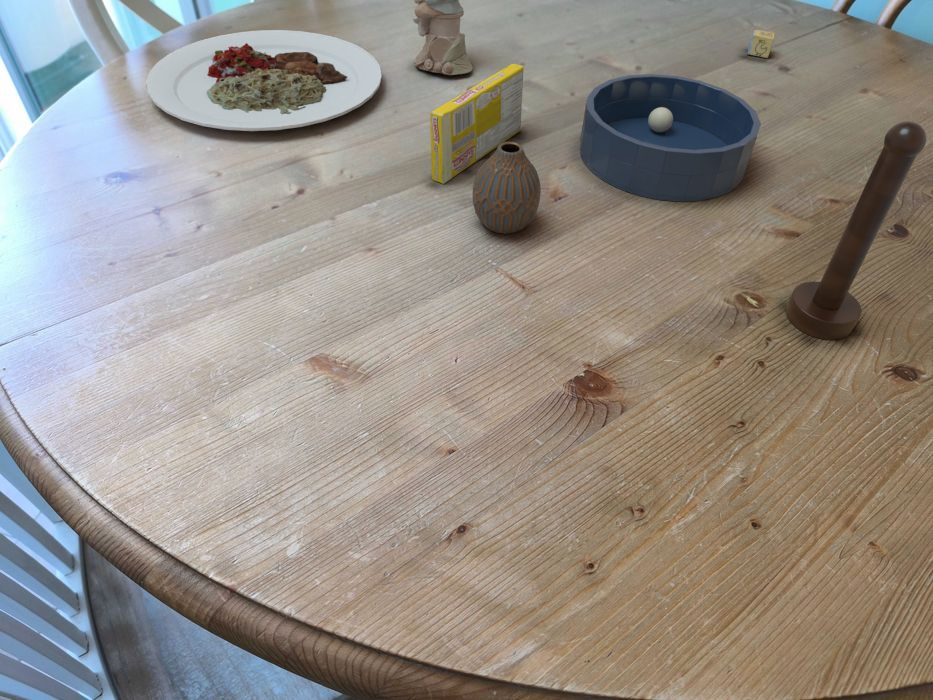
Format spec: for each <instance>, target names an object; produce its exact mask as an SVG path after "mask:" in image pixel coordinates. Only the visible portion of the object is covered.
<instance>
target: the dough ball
mask: <svg viewBox="0 0 933 700" xmlns="http://www.w3.org/2000/svg"><path fill="white" fill-rule="evenodd" d="M672 123H673V115H672V113H671V111H670V110H669V109H667V108H664V107H659V108H656V109H654V110H653V111H652V112H651V113H650V115H649V118H648V124H649V126H650V128H651V129H652V130H653V131H655V132H659V133H661V132H665V131H667V130H668V129H669V128H670V127H671V125H672Z"/></svg>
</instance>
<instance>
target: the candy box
mask: <svg viewBox="0 0 933 700" xmlns="http://www.w3.org/2000/svg"><path fill="white" fill-rule="evenodd" d="M524 69H525V67H524V66H523V65H521V64H520V65H519V64H517V63H511V64H510V65H508V66H506V67H504V68H502V69H501V70H498V71H497V72H495V73H494V74H493V75H491V76H489V77H487V78H485V79H484V80H483V81H481V82H479V83H477V84H476V85H474V86H473V87H471V88H468V89H467V90H465V91H463V92H462V93H461V94H459V95H457V96H455V97H454V98H452V99H450V100H449V101H447V102H445V103H443V104H442V105H440V106H439V107H437V108H435V109H434V110H433V109H432V111H430V113H429V115H430V116H429V117H430V118H429V119H430V127H429V129H430V159H431V160H430V162H431V163H430V165H431V180H432V181H435V182H438V183H440V184H442V185H444V184H445V183H448V182H449V181H450V180H451V179H453V178H454V177H456V176H457V175H458V174H460V173H462V172H463V171H464V170H466V169H467V168H469V167H470V166H471V165H473V164H474V163H476V162H478V161H479V160H480V159H482V158H483V157H485V156H486V155H488V154H489V153H490V152H492V151H493V150H495V149H497V148H498V146H499V145H500V144H501V143H504V142H507V141H508V140H509V139H510V138H512V137H513V136H515V135H517V134H518V133H520V132H521V128H522V127H521V123H522V122H521V121H522V108H523V107H522V106H523V88H524Z"/></svg>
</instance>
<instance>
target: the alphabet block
mask: <svg viewBox="0 0 933 700" xmlns="http://www.w3.org/2000/svg"><path fill="white" fill-rule="evenodd" d="M775 35H776V32H770V31H766V30H759V29H753V31H752V35H751V39H750V42H749V45H748V48H747V52H746V53H747V55H748V56H749V55H750V56H755V57H758V58H759V57H760V58H765V59H768V58H769V57H770V53H771V49H772V47H773V44H774V41H775Z"/></svg>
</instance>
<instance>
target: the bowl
mask: <svg viewBox="0 0 933 700" xmlns="http://www.w3.org/2000/svg"><path fill="white" fill-rule="evenodd" d="M659 107H664V108H667V109H669V110H670V111H671V113H672V115H673V123H672V125H671V127H670V128H669V129H668V130H667V131H665V132H661V133H659V132H655V131H653V130H652V129H651V128H650V126H649V124H648V118H649V115H650V113H651V112H652V111H653V110H654V109H656V108H659ZM761 125H762V123H761V121H760V118H759V116H758V113H757V111H756V110H755V109H754V108H753V107H752V106H751V105H750V104H749V103H748V102H747V101H746V100H745V99H743V98H742V97H739V95H736V94H734V93H732V92H730V91H729V90H727V89H725V88H723V87H719V86H717V85H713V84H711V83H708V82H705V81H702V80H699V79H693V78H689V77H684V76H680V75H668V74H658V73H657V74H656V73H646V74H629V75H624V76H620V77H615V78H612V79H611V78H610V79H608V80H606V81H603V82H602V83H600V84H599V85H597V86H595V87H593V88H592V90H591V92H589V94H588V96H587V97H586V102H585V108H584V113H583V120H582V126H581V133H580V141H579V142H580V143H579V144H580V145H579V154H580V157H581V160H582V162H583V163H584V165H585V166H586V168H587V169H588V170H589V171H590V172H591V173H592V174H594V175H595V176H596V177H597V178H599V179H600V180H602V181H603V182H605V183H607V184H608V185H610V186H612V187H614V188H617V189H619V190H621V191H624V192H626V193H630V194H633V195H635V196H639V197H644V198H647V199H651V200H652V199H653V200H658V201H667V202H699V201H705V200H711V199H715V198H718V197H721V196H724V195H726V194H728V193H730V192H731V191H733V190H735V189H736V188H737V187H738V186H739V185H740V183H741V182H742V181H743V179H744V177H745V174H746V171H747V168H748V164H749V162H750V158H751V156H752V152H753V149H754V147H755V143H756V141H757V138H758V134H759V133H760V128H761Z"/></svg>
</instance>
